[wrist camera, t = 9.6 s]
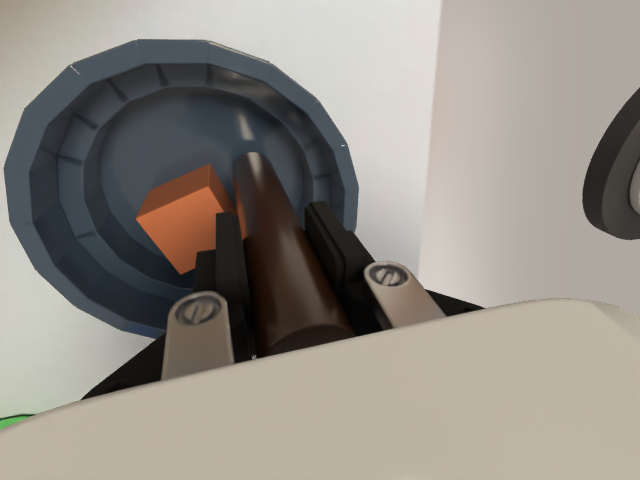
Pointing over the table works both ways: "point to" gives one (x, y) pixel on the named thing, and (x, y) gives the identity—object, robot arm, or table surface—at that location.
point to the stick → (282, 267)
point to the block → (185, 215)
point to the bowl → (155, 164)
